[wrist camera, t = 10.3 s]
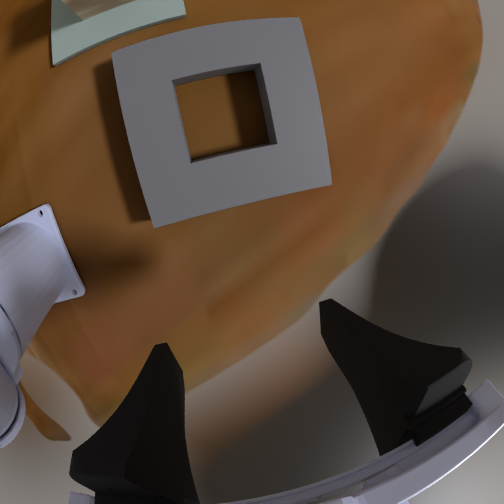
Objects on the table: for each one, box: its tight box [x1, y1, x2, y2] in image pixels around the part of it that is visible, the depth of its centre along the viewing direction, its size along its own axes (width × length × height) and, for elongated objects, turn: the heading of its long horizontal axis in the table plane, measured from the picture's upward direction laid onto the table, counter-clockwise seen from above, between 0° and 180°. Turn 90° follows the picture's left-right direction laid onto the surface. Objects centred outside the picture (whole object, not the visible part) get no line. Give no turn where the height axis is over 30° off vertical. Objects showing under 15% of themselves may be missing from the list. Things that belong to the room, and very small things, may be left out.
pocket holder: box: [111, 18, 332, 228], centre depth 15 cm, size 12×12×2 cm
